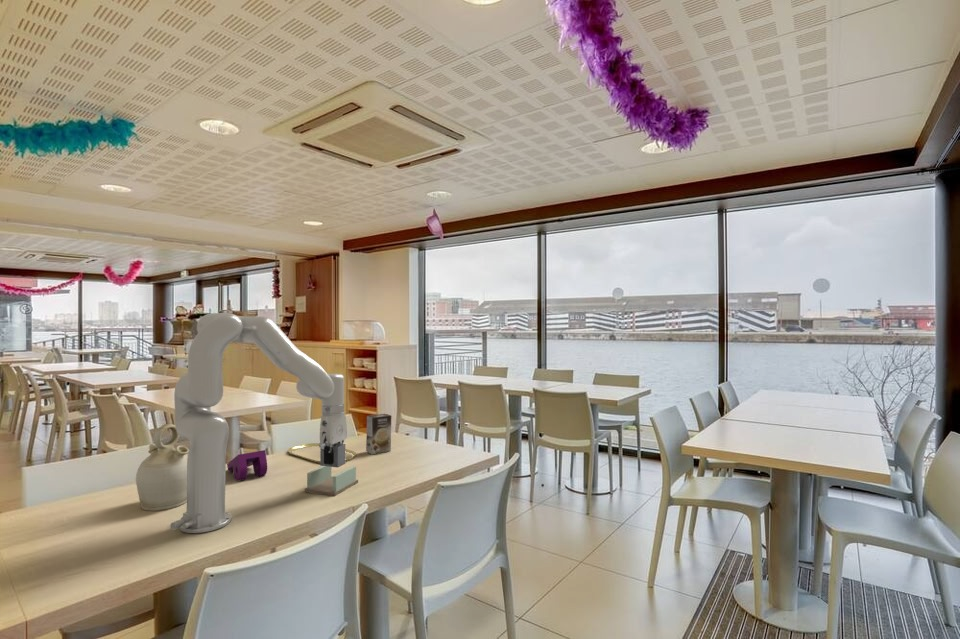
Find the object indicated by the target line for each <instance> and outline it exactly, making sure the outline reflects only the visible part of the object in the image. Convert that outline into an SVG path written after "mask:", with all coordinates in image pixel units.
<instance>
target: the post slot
mask: <svg viewBox="0 0 960 639" xmlns="http://www.w3.org/2000/svg"><path fill="white" fill-rule="evenodd" d="M306 478H307V479H306V487H305V488H304V492H305V493H311V494H319V495H326V496H333V497H335V496H337V495H339V494H341V493H342V492H344V491H346V490H348V489H350V488H351V487H353V486H355V485H356V484H358V483H359V479H357V466H355V465H353V466H350V467H348V468H346V469H345V470H343V471H341V472H339V473H337V474H335V475H333V476H332V467H328V466H319V467H318V468H316V469H313V470H311V471H309V472H307V474H306Z"/></svg>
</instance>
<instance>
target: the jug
mask: <svg viewBox="0 0 960 639" xmlns="http://www.w3.org/2000/svg"><path fill="white" fill-rule="evenodd" d="M169 429H170V430H171V433H172V435H171V438H170V440H169V441H168V442H167V443H165V444H163V443H162V436H163V434H164V432H166V431H167V430H169ZM179 438H180V435H179V434H178V432H177V430H176V424H173V423H166V424H162V425H161V426H160V427H158V429H156V431H155V433H154V435H153V443H151V444H150V445H149V447H148V448H149V450H148V453H149V456H147V457H146V458H145V459H143V460H142V461H141V463H140V464H139V466H138V468H137V471H136V476H135V483H136V484H135V485H136V491H137V494H138V500H139V503H140V505H141V509H142V510H145V511H151V512H152V511H153V512H154V511H155V512H156V511H163V510H164V511H165V510H170V509H173V508H177V507H181V506H182V505H184V504H187V458H188V453H189V449H190V448H188V447H187V446H185V445H180V444H179V445H177V446H176V447H175V445H176V444H177V443H178V441H179Z"/></svg>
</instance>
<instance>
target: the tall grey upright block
mask: <svg viewBox="0 0 960 639" xmlns="http://www.w3.org/2000/svg"><path fill="white" fill-rule="evenodd" d="M327 447H328V448H329V445H327ZM319 448H320V447H319ZM345 449H346V443H343V444H341V443H336V444H333V445H332V452H331V453H333V464H331V465H330V464H324V453H323V450H322V449H321V448H320V450H319V451H320V452H319V453H320V455H319V456H320V460H319V461H320V463H319V464H320V466H319V467H322V466H328V467H331V468H341V467H342V466H343V465H346V461H345V459H346V453H345Z"/></svg>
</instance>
